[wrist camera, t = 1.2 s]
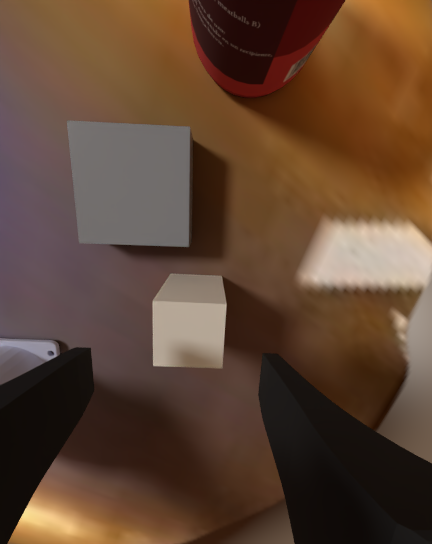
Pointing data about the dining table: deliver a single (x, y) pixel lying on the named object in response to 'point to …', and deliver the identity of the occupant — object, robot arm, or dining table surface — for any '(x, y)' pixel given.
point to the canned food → (258, 40)
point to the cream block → (189, 322)
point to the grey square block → (132, 183)
